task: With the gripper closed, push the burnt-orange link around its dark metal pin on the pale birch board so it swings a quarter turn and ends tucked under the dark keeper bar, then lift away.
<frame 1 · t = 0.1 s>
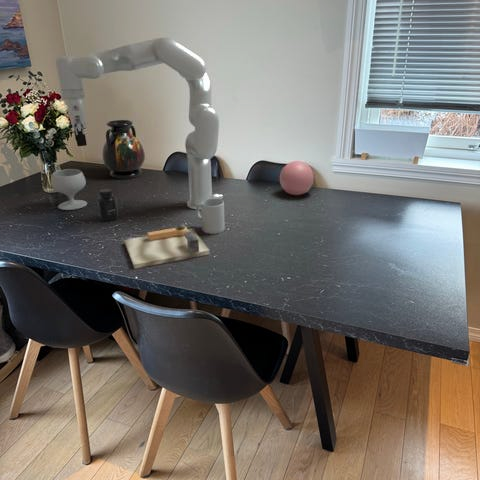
hand: (81, 143, 157), 31 cm above the table, tool pointing down, fingers open, 9 cm apart
pivot board: (166, 248, 147), on the table
amphora vase: (126, 175, 229), on the table
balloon: (297, 193, 199), on the table
chalice: (73, 206, 187), on the table
mug: (209, 229, 163), on the table
link: (168, 233, 152), point 3 cm above the table, hinge at 0.0°
supplement bottle: (109, 219, 173), on the table
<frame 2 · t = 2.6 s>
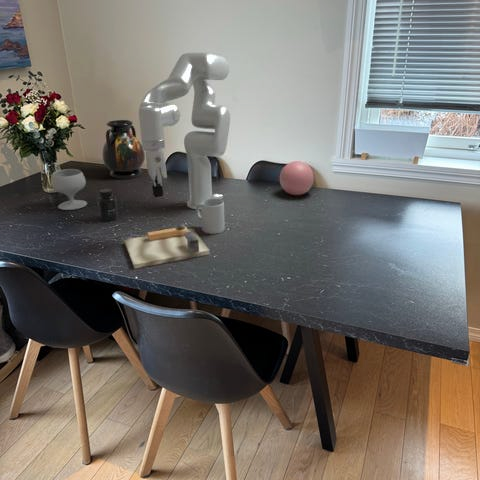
hand: (158, 196, 152), 15 cm above the table, tool pointing down, fingers closed
nothing on the table moved.
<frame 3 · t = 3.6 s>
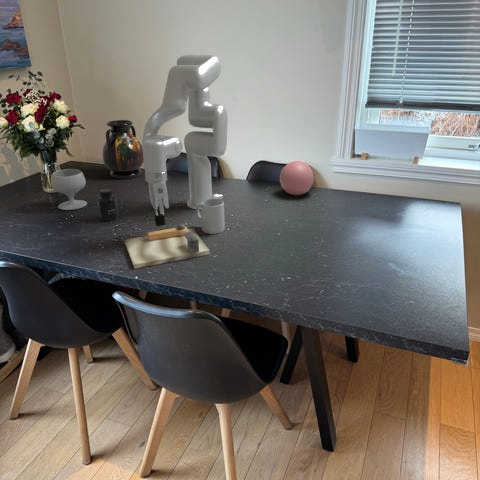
hand: (160, 224, 156), 4 cm above the table, tool pointing down, fingers closed
nothing on the table moved.
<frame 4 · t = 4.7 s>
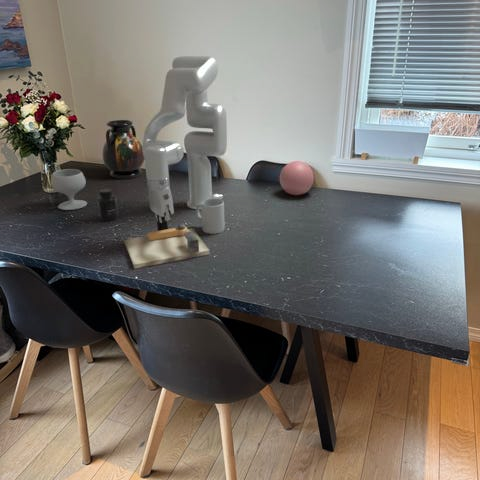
hand: (163, 231, 154), 3 cm above the table, tool pointing down, fingers closed
link: (168, 233, 152), point 3 cm above the table, hinge at 0.6°, touching gripper
everything else where it was.
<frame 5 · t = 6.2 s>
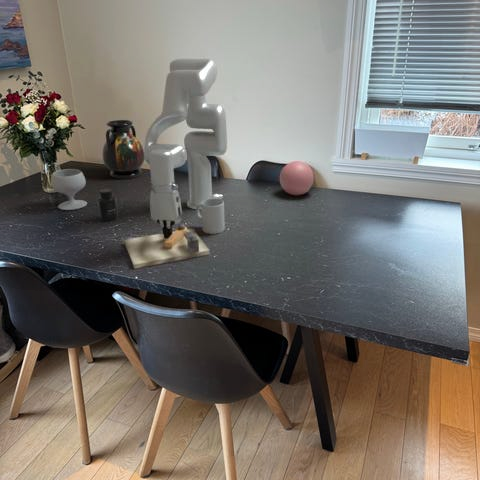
hand: (168, 237, 150), 3 cm above the table, tool pointing down, fingers closed
link: (176, 236, 150), point 3 cm above the table, hinge at 53.1°, touching gripper
everything else where it was.
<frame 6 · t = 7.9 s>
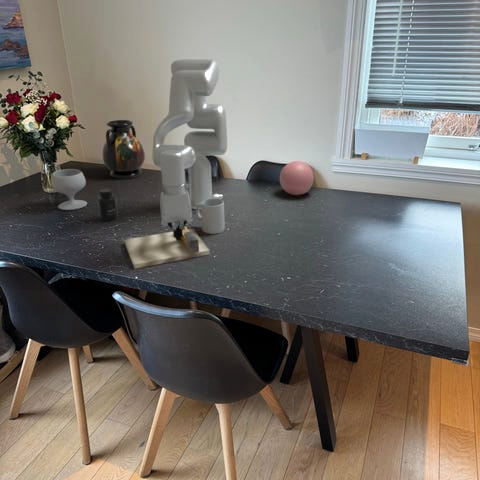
hand: (178, 238, 148), 3 cm above the table, tool pointing down, fingers closed
link: (185, 236, 150), point 3 cm above the table, hinge at 91.5°, touching gripper
everything else where it was.
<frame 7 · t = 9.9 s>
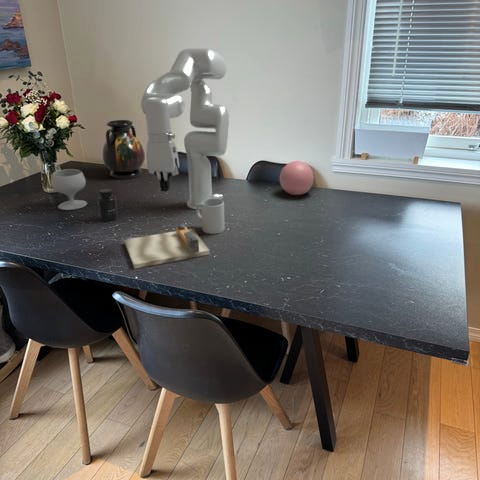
hand: (165, 190, 148), 18 cm above the table, tool pointing down, fingers closed
link: (185, 236, 150), point 3 cm above the table, hinge at 91.4°
everything else where it was.
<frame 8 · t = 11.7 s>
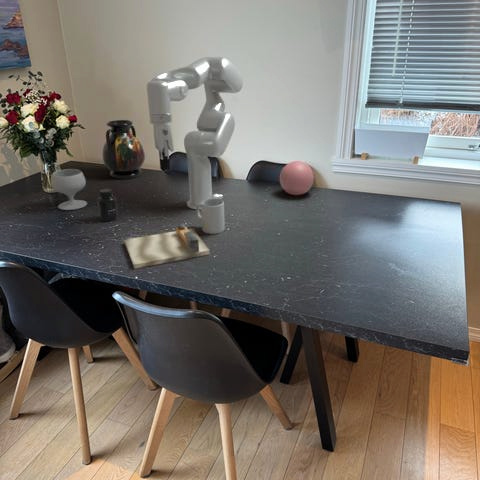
hand: (165, 169, 157), 22 cm above the table, tool pointing down, fingers closed
nothing on the table moved.
at the end: link at +91° (first picture: +0°) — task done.
